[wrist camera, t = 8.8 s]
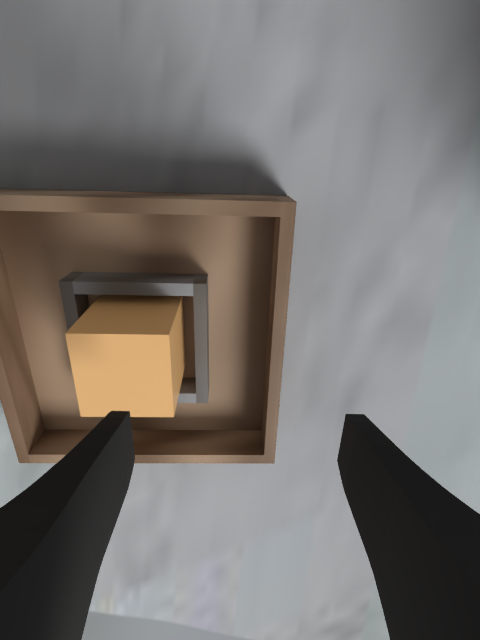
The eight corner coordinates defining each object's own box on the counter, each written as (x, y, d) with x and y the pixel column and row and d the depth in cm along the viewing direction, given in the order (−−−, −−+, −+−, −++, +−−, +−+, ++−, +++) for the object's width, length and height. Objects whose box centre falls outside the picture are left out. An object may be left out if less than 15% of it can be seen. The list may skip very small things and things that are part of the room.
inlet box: (287, 195, 17) (296, 202, 15) (269, 432, 23) (274, 463, 21) (-21, 188, 17) (-60, 193, 14) (40, 431, 22) (19, 462, 20)
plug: (182, 294, 18) (169, 334, 14) (185, 363, 20) (173, 417, 16) (102, 293, 18) (64, 333, 14) (111, 362, 20) (80, 416, 16)
